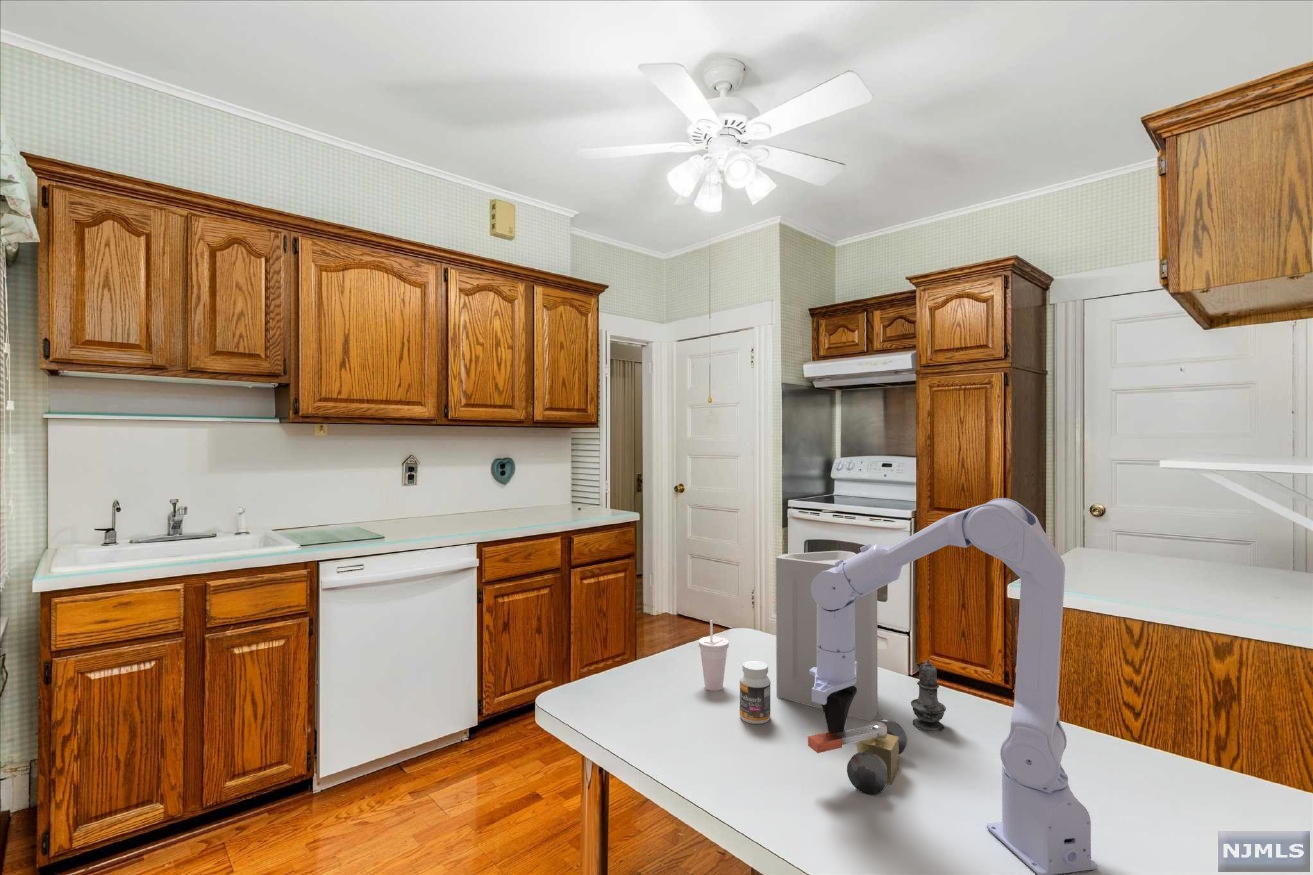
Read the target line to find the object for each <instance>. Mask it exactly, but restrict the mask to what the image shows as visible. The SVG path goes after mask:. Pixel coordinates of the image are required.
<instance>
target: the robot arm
mask: <svg viewBox="0 0 1313 875" xmlns="http://www.w3.org/2000/svg"><path fill="white" fill-rule="evenodd" d="M971 545H972V546H974V547H975V548H977V549H978V550H980V551H981V552H984V553H985V554H988V555H989V556H992V557H994V558H996V559H998V560H1000V561H1002V562H1003V563H1004V564H1005V566H1007V567H1008V568H1009V570H1011V571H1012V572H1013V573H1015V575H1016V576H1018V577H1019V579H1020V590H1019V592H1020V593H1019V607H1018V609H1019V611H1018V612H1019V614H1018V628H1017V630H1018V632H1017V633H1018V634H1017V649H1016V650H1017V653H1016V670H1015V686H1014V688H1015V689H1014V691H1015V692H1014V702H1013V707H1012V714H1011V718H1010V729H1009V732H1008V735H1007V737H1006V738H1005V739H1004V740H1003V742H1002V744H1001V746H1000V753H999V755H1000V760H1001V776H1002V777H1001V782H1002V783H1001V784H1002V785H1001V790H1002V791H1001V798H1002V799H1001V803H1002V804H1001V806H1002V808H1001V812H1002V814H1001V816H1002V817H1001V818H1002V819H1001V821H997V822H989V823H986V828H987V830H988V831H989V832H990V833H991V834H993V835H994V836H995V837H996V838H997V839H998V840H999V841H1001V842H1002V844H1004V845H1005V846H1006V847H1007V848H1008V849H1009V850H1010V851H1012V852H1013V853H1014V855H1016V856H1017V857H1018V858H1019V859H1020V860H1021V861H1022V862H1024V864H1026V865H1027V866H1028V867H1029V868H1030V869H1031V870H1032V871H1034V872H1035V873H1036V874H1037V875H1060V874H1061V875H1062V874H1070V873H1075V872H1076V873H1077V872H1084V871H1091V870H1097V869H1098V868H1097V867H1098V865H1097V863H1096V862H1095V861H1093V860H1092V847H1091V846H1092V843H1091V841H1092V836H1091V835H1092V833H1091V832H1092V826H1091V825H1092V822H1091V817H1090V813H1089V811H1088V810H1087V808H1086V806H1084V805H1083V803H1081V802H1080V801H1079V800H1078V799H1077V797H1076V796H1075V795H1074V793H1073V792H1072V790H1071V787H1070V784H1069V776H1068V775H1067V774H1066V772H1065V770H1064V767H1063V766H1062V764H1061V762H1062V760H1063V755H1064V752H1065V750H1066V748H1067V735H1066V732H1065V730H1064V728H1063V727H1062V724H1061V721H1060V720H1061V719H1060V706H1059V688H1060V687H1059V686H1060V671H1061V669H1060V668H1061V652H1062V636H1063V635H1062V633H1063V632H1062V631H1063V615H1064V614H1063V612H1064V597H1065V595H1064V594H1065V577H1066V576H1065V575H1066V566H1065V562H1064V560H1063V558H1062V556H1061V555H1060V554H1059V552H1058V550H1057V549H1056V548H1055V545H1054V544H1053V543H1052V541H1051V540H1050V538H1049V536H1048V535H1047V533H1046V531H1044V529H1043V527H1042V525H1041V523H1040V521H1039V519H1038V517H1037V516H1036V515H1035V514H1034V513H1033V512H1031V511H1030V510H1029V509H1028V508H1027V507H1025V506H1024V505H1022V504H1021V503H1019V502H1018V501H1016V500H1013V499H1011V498H1006V497H1000V498H999V497H998V498H994V499H992V500H989V501H987V502H985V503H983V504H979V505H976V506H972V507H970V508H967V509H964V510H960V511H958V512H955V513H953V514H949V515H947V516H945V517H942V518H941V519H939V520H936V521H934V522H933V523H931V524H929V525H928V526H926V527H924V528H923V529H920V530H919V531H917V532H915V533H913V534H911V535H910V536H909V537H907V538H905V539H903V540H901V541H900V542H897V543H896V544H894V545H893V546H887V545H884V544H881V543H876V544H874V545H872V544H871V543H868V544H867V543H866V544H865V545H863V546H861V547H860V548H859V550H860V552H858V553H856V554H857V555H855V556H853V557H851V558H849V559H847V560H845V561H843V560H842V559H841V560H839V561H837V562H835V565H836V567H833V568H831V569H829V570H827V571H822V572H820V573H819V574H818V575H817V576H816V577H815V578H814V579H813V581H812V584H811V594H812V597H813V599H814V601H815V602H816V603H817V667H813V668H811V669H810V670H809V674H810V675H812V676H815V684H814V687H813V688H812V702H816V703H819V704H821V705H822V708H823V709H822V710H823V714H824V718H825V723H826V727H827V732H830V731H832V732H834V733H837V732H842V731H845V729H846V728H845V727H846V722H847V719H848V711H849V707H850V705H851V702H852V700H853V698H854V696H855V694H856V692H857V688H856V687H855V686H853V685H854V684H855V683H856V674H857V662H856V661H855V600H856V599H857V598H858V597H862V596H864V595H866V594H868V593H871V592H873V591H875V590H877V591H878V589H881V588H883V587H885V586H887V585H889V584H890V583H893V582H896V581H897V580H898V579H900V576H901V572H902V568H903V566H905V565H907V564H910V563H912V562H914V561H916V560H919V559H921V558H922V557H925V556H927V555H929V554H932V553H934V552H936V551H938V550H940V549H942V548H944V547H947V546H953V547H954V546H955V547H959V548H969V546H971Z"/></svg>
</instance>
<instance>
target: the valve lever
mask: <svg viewBox="0 0 1313 875" xmlns="http://www.w3.org/2000/svg"><path fill="white" fill-rule="evenodd" d="M886 737H887V726H886V725H885V724H884V723H881V722H876V721H870V723H869V725H864V726H861V727H856V728H851V729H846V730H844V731H842V732H837V733H834V732H832V731H830V732H828V731H826V732H822V733H818V734H812V735H808V736H807V747H809V748H810V749H811V750H812V751H814V752H815V753H817V754H821V753H825V752H826V753H827V752H829V751H834V750H837V749H838V750H839V749H842V748H843V746H844V745H849V744H853V743H857V742H858V741H862V740H866V739H871V738H879V739H883V738H886Z"/></svg>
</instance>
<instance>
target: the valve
mask: <svg viewBox="0 0 1313 875" xmlns="http://www.w3.org/2000/svg"><path fill="white" fill-rule="evenodd" d="M875 722H881V723H884V724H885V725H886V726H887V737H886V738H883V739H879V738H871V739H866V740H862V741H858V742H856V743H857V744H856V746H857V753H855V754H854V755H852V756H851V757H850V759H849V760H848V762H847V765H846V772H847V777H848V780H849V782H850V783H851V785H852V786H853V787H854V788H855V789H857V791H859V792H860V793H862V794H865V795H868V796H876V795H878V794H880V793H882V792H883V791H884V790H885V787H886V786H887V785H890V786H891V785H892V784H893V781H894V780H895V779H896V776H897V774H898V772H899V770H900V768H899V767H900V766H899V765H900V764H899V763H900V762H899V761H900V760H899V758H900V755H901V754H902V753H903V752H904V751H905V749H906V747H907V744H908V738H907V734H906V732H905V730H904V729H903V727H902V725H900V724H899V723H898V722H897V721H895V720H892V719H890V718H880V719H878V720H876V721H875Z"/></svg>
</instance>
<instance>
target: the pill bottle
mask: <svg viewBox="0 0 1313 875" xmlns="http://www.w3.org/2000/svg"><path fill="white" fill-rule="evenodd" d="M742 673H743V674H741V675H740V679H739V718H740V719H741V720H742V721H744V722H746V723H748V724H753V725H762V724H765V723H767V722H768V721H769V720H770V719H771V679H770V677H769V676H768V673H769V665H768V664H767V663H766V662H764V661H760V660H747V661H745V662H743V663H742Z"/></svg>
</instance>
